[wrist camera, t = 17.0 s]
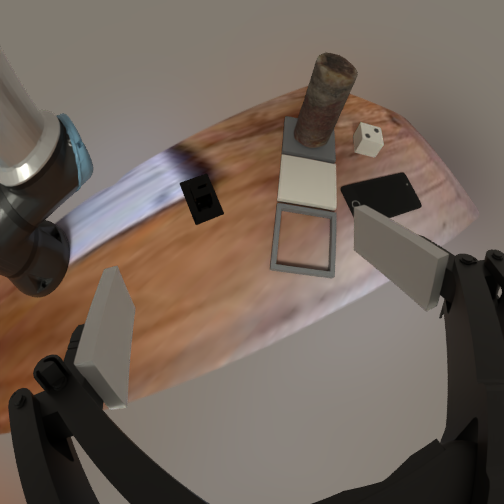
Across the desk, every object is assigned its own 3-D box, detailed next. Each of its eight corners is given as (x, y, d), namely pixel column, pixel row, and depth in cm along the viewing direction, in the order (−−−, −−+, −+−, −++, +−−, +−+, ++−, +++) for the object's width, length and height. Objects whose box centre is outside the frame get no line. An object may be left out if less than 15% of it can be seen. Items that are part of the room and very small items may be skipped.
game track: (269, 270, 48) (270, 268, 47) (284, 119, 59) (285, 116, 58) (332, 278, 49) (334, 276, 48) (332, 129, 59) (333, 125, 58)
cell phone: (338, 189, 55) (340, 186, 54) (402, 174, 58) (404, 172, 57) (357, 228, 52) (359, 226, 52) (420, 208, 55) (422, 206, 54)
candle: (318, 122, 58) (343, 51, 39) (334, 147, 56) (368, 77, 37) (287, 128, 57) (306, 52, 38) (302, 154, 55) (329, 78, 36)
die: (354, 152, 58) (362, 138, 53) (352, 136, 59) (360, 121, 54) (374, 157, 58) (384, 144, 53) (372, 141, 59) (381, 127, 55)
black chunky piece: (232, 221, 51) (232, 210, 47) (193, 236, 50) (190, 226, 46) (208, 167, 54) (207, 153, 50) (172, 180, 53) (168, 167, 49)
